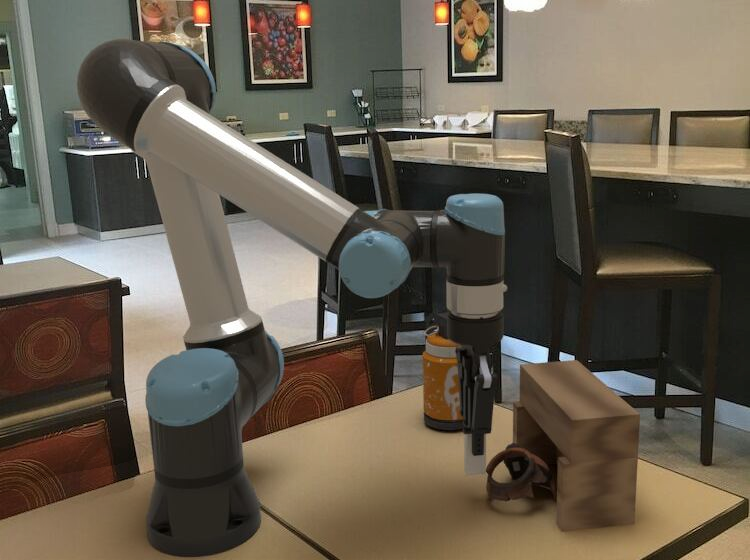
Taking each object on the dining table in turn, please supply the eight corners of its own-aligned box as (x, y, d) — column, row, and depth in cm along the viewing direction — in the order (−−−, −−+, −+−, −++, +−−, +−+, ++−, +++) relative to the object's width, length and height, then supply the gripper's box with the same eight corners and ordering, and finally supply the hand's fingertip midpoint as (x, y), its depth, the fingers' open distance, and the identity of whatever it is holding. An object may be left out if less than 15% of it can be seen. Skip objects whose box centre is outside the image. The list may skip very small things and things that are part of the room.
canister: (439, 437, 133) (437, 323, 128) (409, 414, 143) (407, 307, 138) (485, 426, 137) (485, 315, 132) (453, 404, 146) (452, 300, 142)
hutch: (561, 534, 103) (564, 420, 100) (512, 461, 124) (513, 364, 120) (634, 526, 105) (640, 414, 101) (573, 455, 125) (576, 359, 121)
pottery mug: (571, 512, 109) (549, 472, 105) (509, 541, 110) (485, 502, 106) (545, 456, 119) (524, 418, 116) (489, 483, 121) (467, 446, 117)
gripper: (517, 322, 100) (515, 492, 105) (489, 296, 112) (488, 449, 118) (459, 326, 99) (460, 497, 105) (437, 300, 112) (439, 454, 117)
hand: (475, 472), depth 111 cm, fingers closed
